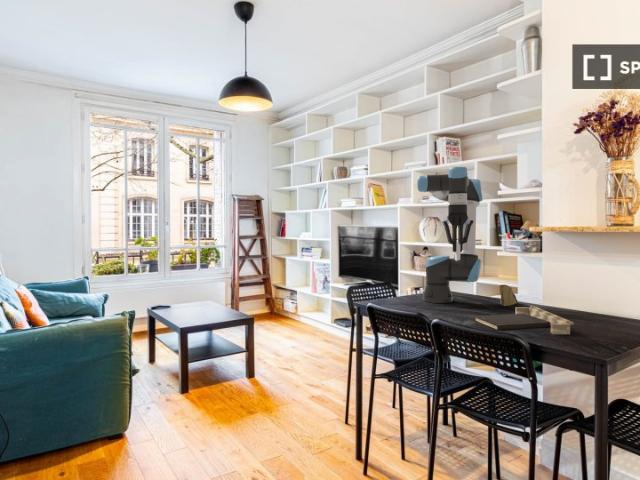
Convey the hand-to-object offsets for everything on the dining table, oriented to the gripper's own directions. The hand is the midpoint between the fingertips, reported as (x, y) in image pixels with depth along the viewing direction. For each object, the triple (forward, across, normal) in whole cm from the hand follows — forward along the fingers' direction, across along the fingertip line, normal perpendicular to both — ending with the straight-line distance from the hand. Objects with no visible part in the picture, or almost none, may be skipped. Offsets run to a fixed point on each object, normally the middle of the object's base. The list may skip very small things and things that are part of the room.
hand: (457, 259), depth 181 cm
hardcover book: (+26, +18, -11) cm, 33 cm away
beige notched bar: (+25, +29, -12) cm, 40 cm away
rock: (+26, +35, +28) cm, 52 cm away
